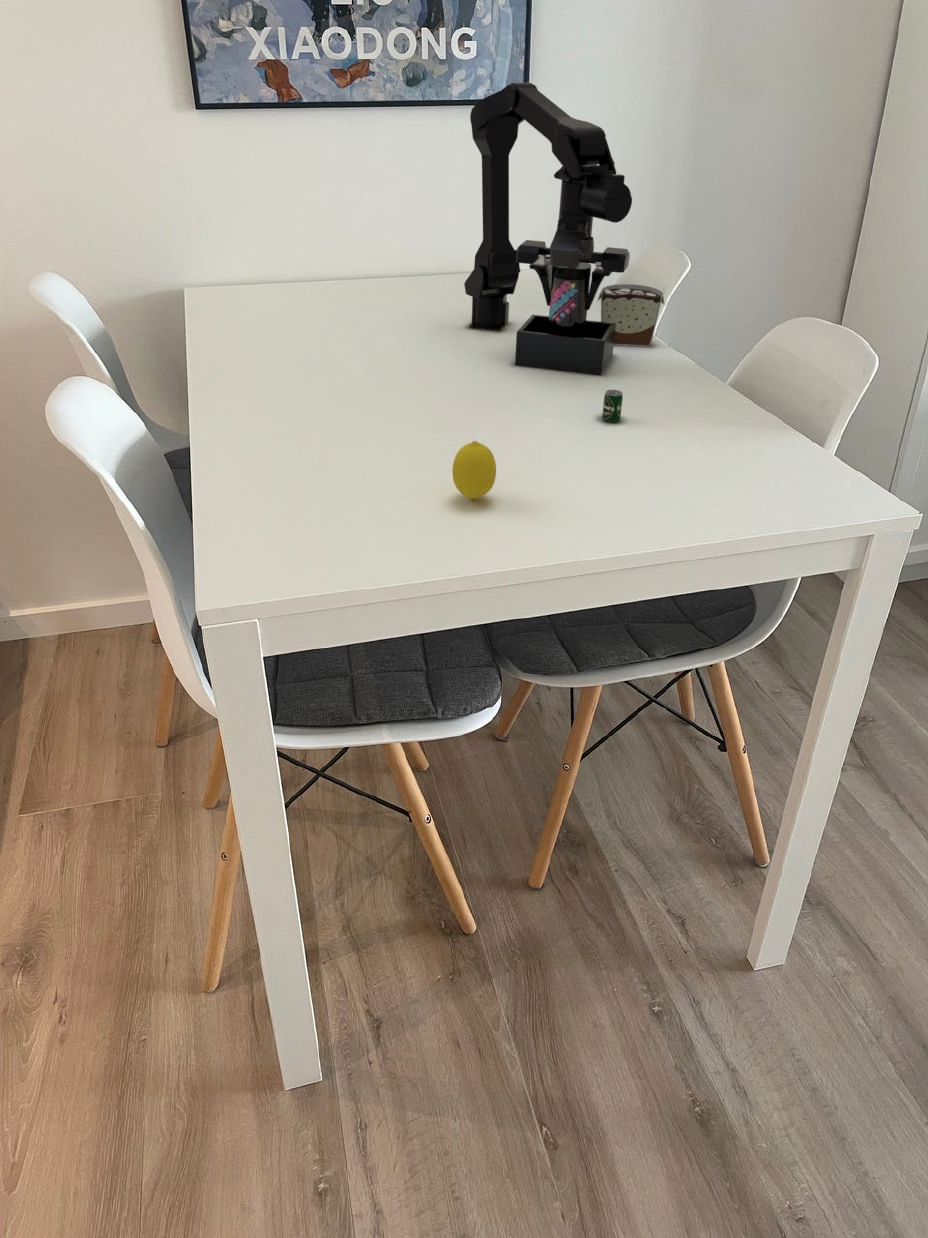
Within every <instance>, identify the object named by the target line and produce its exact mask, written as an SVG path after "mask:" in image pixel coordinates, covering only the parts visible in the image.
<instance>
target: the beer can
mask: <svg viewBox="0 0 928 1238" xmlns="http://www.w3.org/2000/svg"><path fill="white" fill-rule="evenodd" d="M623 398H624V397H623V392H622V391H621V390H617V389H607V390H606V391H605V392H604V397H603V405H602V412H601V413H602V414H601V419H602V420H603V422H605V423H610V424H615V423H618V422H619V421H621V415H622V407H623V400H624V399H623Z"/></svg>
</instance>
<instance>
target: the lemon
mask: <svg viewBox="0 0 928 1238" xmlns="http://www.w3.org/2000/svg"><path fill="white" fill-rule="evenodd" d="M496 477H497V465H496V460H495V456H494V453H493V452H492V451H491V449H490V448H489V447H487V446H486V445H485V444H483V443H480V442H478V441H477V440H473V441H472V442H470V443H466V444H465V445H463V446H462V447H460V448H459V450H458V451H457V452H456V454H455V457H454V460H453V463H452V480H453V484H454V486H455V488H456V489H457V491H458V492H459V493H460V494H462V495H463V496H465V497H468V498H469V499H470V500H471V501H476V500H478V499H479V498H481V497H483V496H486V495H487V494H488V493H489V492H490V491H491V489H493V487H494V484H495V481H496Z"/></svg>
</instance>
